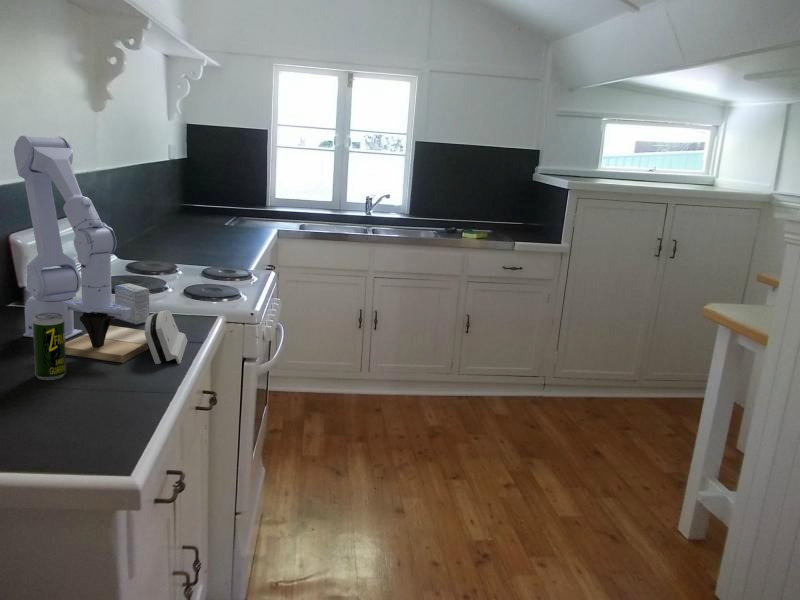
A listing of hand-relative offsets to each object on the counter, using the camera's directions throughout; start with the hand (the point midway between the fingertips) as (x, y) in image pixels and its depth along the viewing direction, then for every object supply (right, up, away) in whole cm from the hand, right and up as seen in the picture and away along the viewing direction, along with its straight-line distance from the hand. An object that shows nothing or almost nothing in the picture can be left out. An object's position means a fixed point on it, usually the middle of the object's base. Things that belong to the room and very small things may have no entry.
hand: (98, 346), depth 145 cm
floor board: (+2, +1, +10) cm, 10 cm away
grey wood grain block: (-3, +5, +26) cm, 26 cm away
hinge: (+13, -2, +5) cm, 14 cm away
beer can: (-3, -5, -14) cm, 15 cm away
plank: (0, -1, +1) cm, 2 cm away
